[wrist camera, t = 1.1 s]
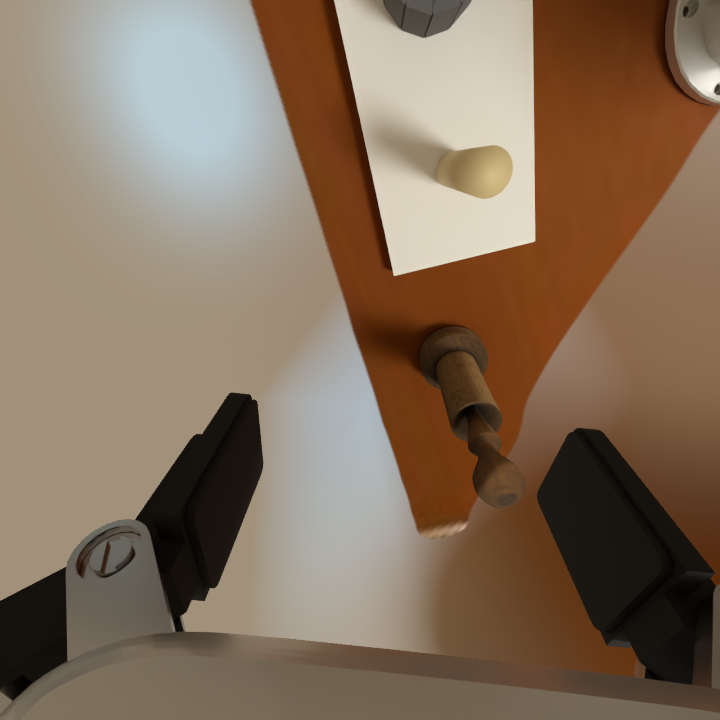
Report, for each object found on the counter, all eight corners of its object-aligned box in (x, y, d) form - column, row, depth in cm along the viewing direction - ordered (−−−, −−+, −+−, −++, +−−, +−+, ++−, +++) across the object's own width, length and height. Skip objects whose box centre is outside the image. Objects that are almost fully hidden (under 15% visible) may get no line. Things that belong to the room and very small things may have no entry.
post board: (519, -216, 18) (689, -671, 8) (528, 238, 30) (604, 276, 20) (309, -118, 20) (242, -389, 10) (393, 271, 32) (400, 321, 22)
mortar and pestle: (464, 313, 33) (538, 444, 18) (493, 360, 36) (581, 510, 20) (407, 347, 36) (429, 490, 20) (438, 389, 38) (479, 545, 23)
